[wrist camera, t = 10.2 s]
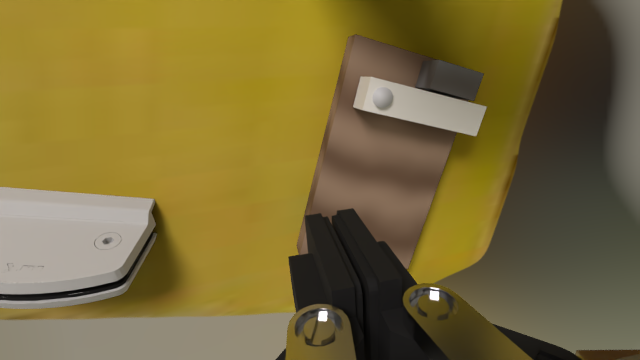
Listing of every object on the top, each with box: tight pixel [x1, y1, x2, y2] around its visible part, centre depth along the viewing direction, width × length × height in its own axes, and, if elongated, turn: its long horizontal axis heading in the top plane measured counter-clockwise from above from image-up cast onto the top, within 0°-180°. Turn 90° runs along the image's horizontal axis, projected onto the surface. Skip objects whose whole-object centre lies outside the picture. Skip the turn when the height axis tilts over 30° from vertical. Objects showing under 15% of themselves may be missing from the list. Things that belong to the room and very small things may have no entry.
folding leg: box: [353, 76, 487, 136], centre depth 32 cm, size 12×3×3 cm, turn 77°
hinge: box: [0, 187, 157, 309], centre depth 29 cm, size 17×5×10 cm, turn 80°
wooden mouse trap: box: [297, 35, 484, 269], centre depth 35 cm, size 24×14×6 cm, turn 166°
